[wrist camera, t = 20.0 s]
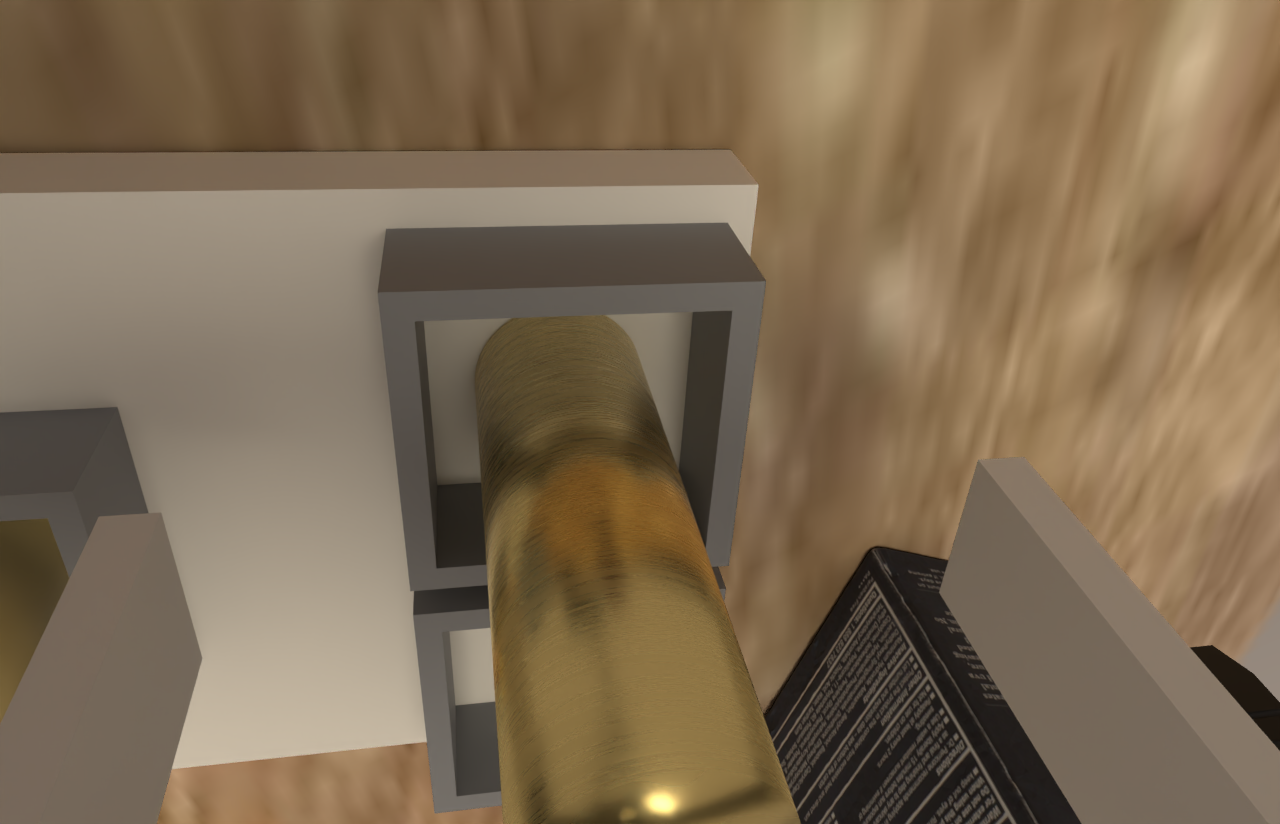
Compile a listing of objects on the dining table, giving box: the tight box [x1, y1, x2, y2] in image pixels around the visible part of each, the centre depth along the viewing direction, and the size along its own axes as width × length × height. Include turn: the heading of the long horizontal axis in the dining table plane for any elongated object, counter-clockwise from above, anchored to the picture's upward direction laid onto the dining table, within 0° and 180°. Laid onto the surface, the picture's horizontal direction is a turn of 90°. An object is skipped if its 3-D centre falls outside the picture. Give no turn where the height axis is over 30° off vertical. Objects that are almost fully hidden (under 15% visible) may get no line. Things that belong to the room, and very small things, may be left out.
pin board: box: [0, 150, 766, 813], centre depth 17 cm, size 20×14×9 cm
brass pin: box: [475, 315, 801, 824], centre depth 14 cm, size 3×3×10 cm
